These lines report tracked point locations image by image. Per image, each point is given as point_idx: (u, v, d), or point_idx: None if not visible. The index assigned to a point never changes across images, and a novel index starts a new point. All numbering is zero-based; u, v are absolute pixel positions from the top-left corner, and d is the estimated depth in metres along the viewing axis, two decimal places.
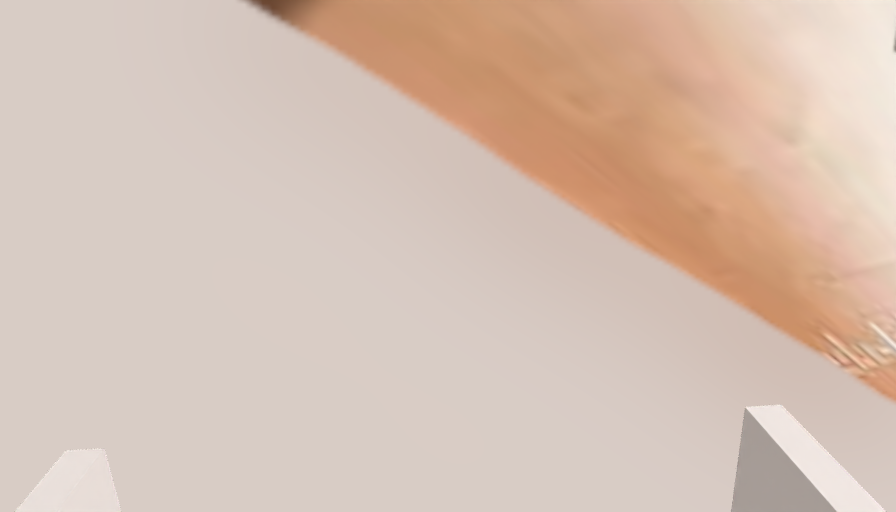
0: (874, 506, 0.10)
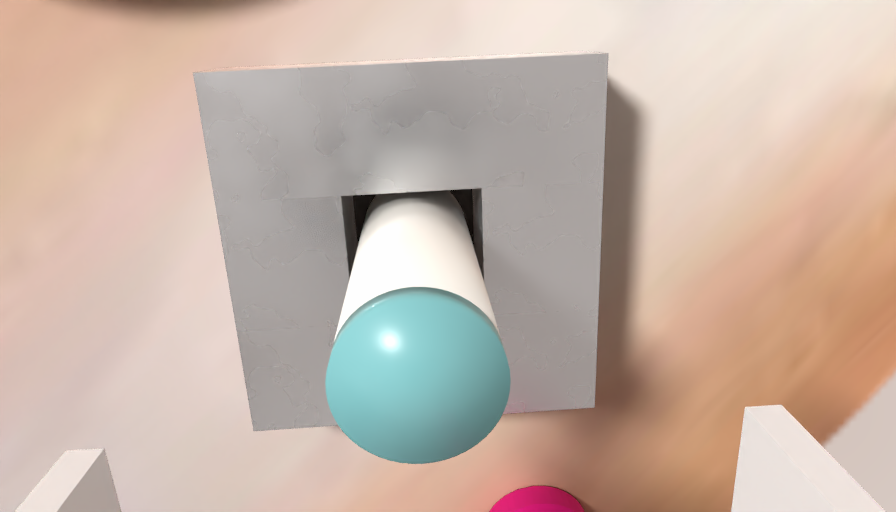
0: (874, 505, 0.10)
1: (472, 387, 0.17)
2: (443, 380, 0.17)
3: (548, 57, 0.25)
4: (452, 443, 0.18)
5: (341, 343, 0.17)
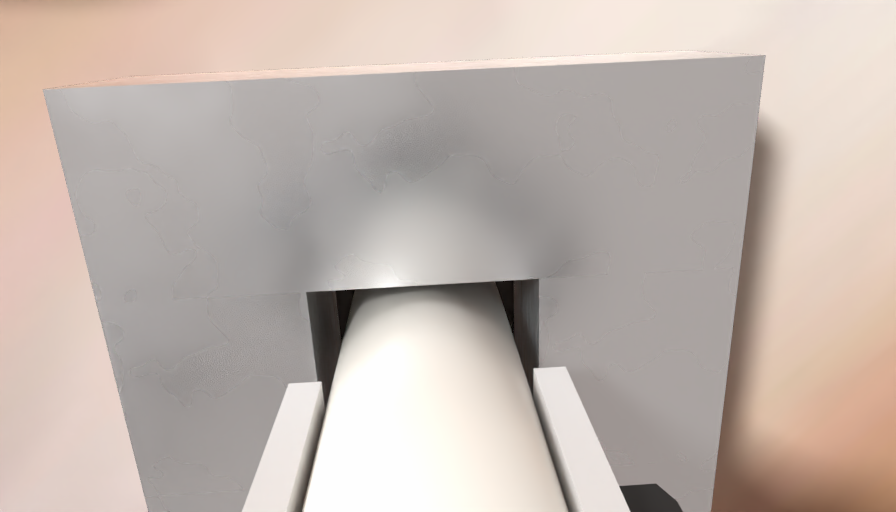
0: (598, 444, 0.12)
1: None
2: None
3: (661, 62, 0.14)
4: None
5: None
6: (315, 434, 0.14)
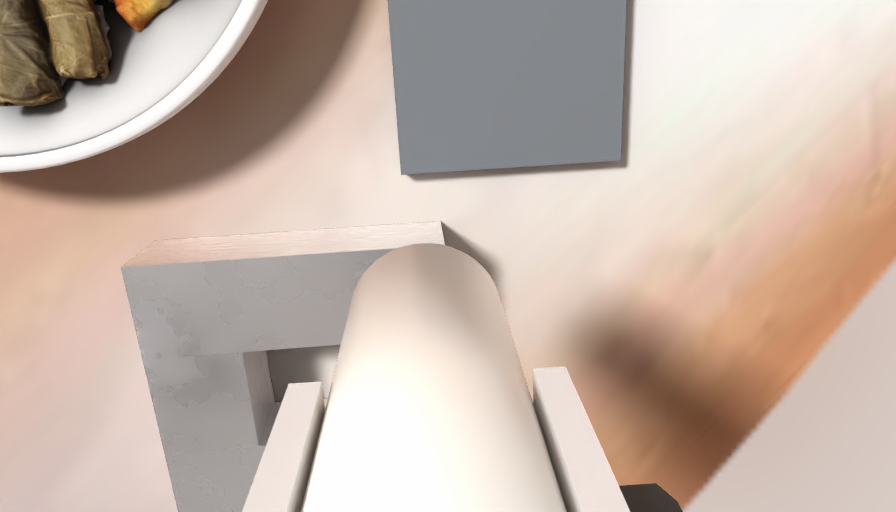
0: (598, 444, 0.12)
1: None
2: None
3: None
4: None
5: None
6: (315, 434, 0.14)
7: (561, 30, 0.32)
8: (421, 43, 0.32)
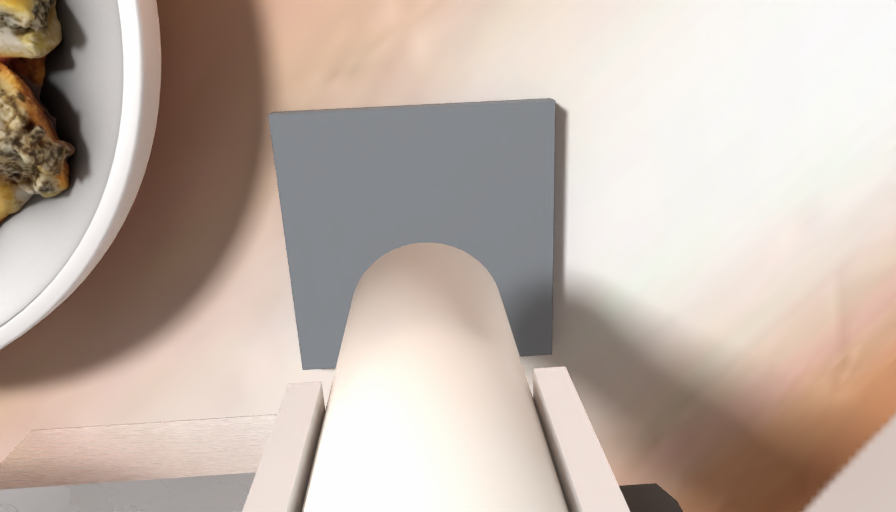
0: (598, 444, 0.12)
1: None
2: None
3: None
4: None
5: None
6: (315, 434, 0.14)
7: (479, 221, 0.28)
8: (319, 236, 0.28)
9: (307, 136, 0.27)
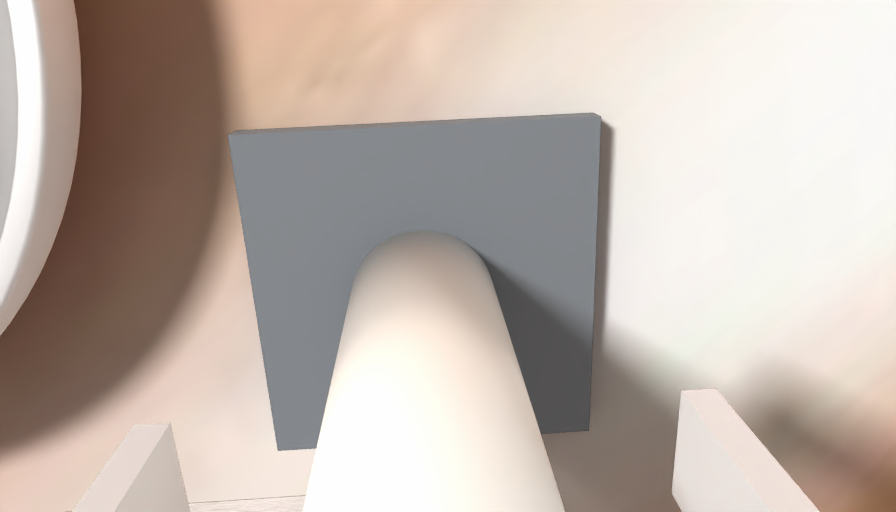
0: (787, 480, 0.11)
1: None
2: None
3: None
4: None
5: None
6: (150, 484, 0.12)
7: (501, 269, 0.22)
8: (296, 288, 0.22)
9: (279, 163, 0.20)
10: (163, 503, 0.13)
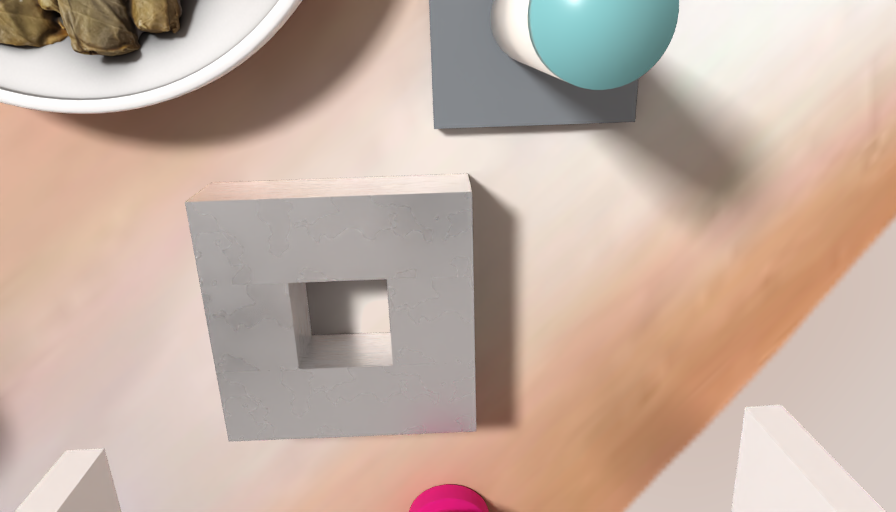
0: (874, 505, 0.10)
1: (648, 17, 0.21)
2: (625, 9, 0.21)
3: (430, 194, 0.35)
4: (626, 71, 0.22)
5: None
6: None
7: None
8: (456, 8, 0.35)
9: None
10: None
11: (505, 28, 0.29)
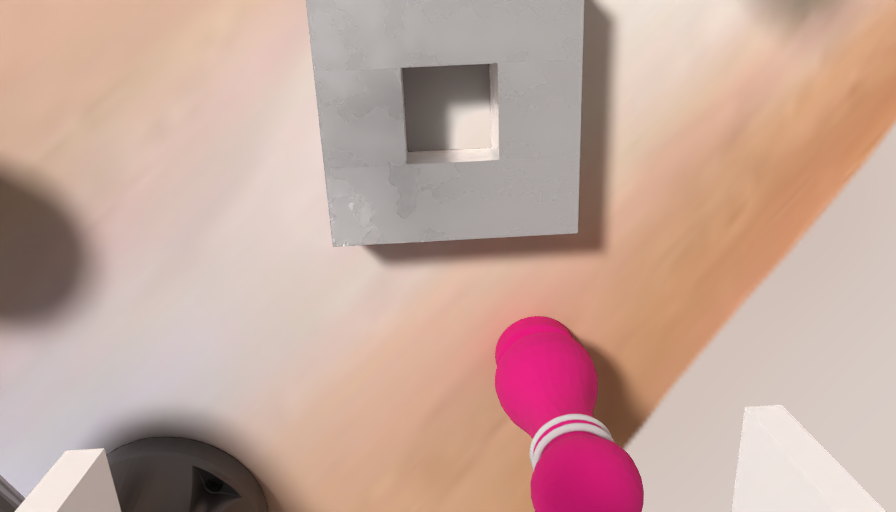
0: (875, 506, 0.10)
1: None
2: None
3: None
4: None
5: None
6: None
7: None
8: None
9: None
10: None
11: None
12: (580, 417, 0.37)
